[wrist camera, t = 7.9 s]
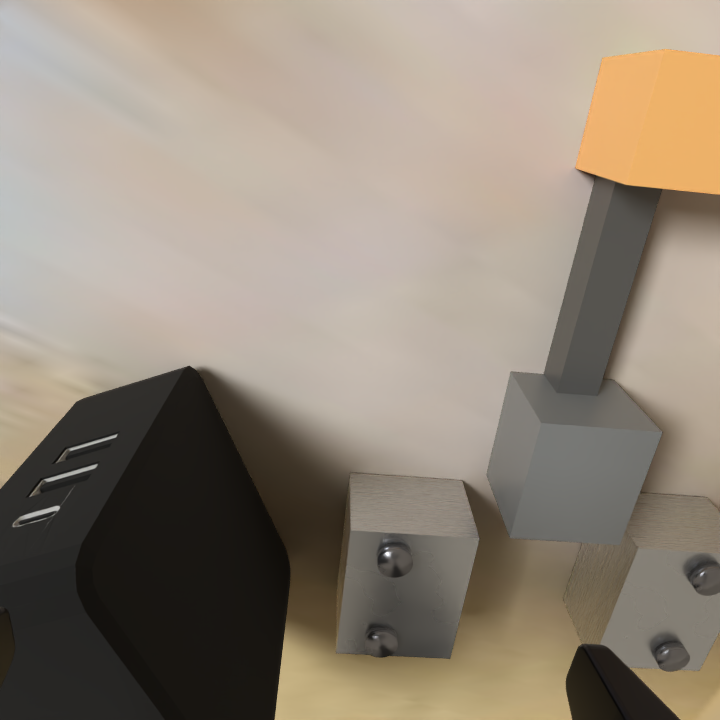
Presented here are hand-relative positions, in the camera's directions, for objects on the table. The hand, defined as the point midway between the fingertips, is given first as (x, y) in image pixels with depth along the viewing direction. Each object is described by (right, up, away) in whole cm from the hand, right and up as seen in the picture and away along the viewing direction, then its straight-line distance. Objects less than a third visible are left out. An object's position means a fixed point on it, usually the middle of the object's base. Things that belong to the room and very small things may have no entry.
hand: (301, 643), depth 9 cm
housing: (+7, -3, +15) cm, 17 cm away
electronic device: (-5, 0, +13) cm, 14 cm away
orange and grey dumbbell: (+8, +6, +11) cm, 15 cm away
